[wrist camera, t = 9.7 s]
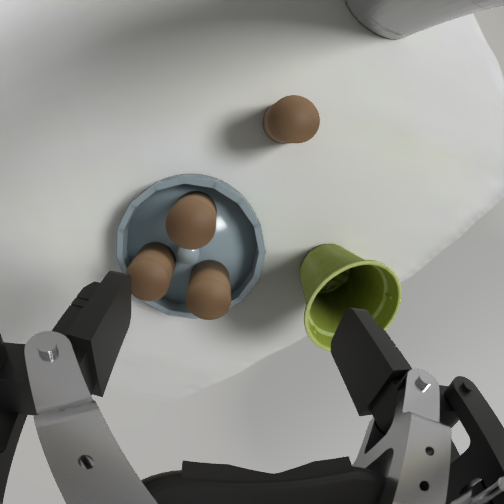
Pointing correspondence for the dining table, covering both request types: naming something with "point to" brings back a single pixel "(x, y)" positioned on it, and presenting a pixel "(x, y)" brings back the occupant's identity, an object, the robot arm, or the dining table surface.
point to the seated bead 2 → (209, 290)
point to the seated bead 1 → (151, 271)
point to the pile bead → (291, 120)
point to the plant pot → (345, 291)
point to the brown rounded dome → (192, 220)
